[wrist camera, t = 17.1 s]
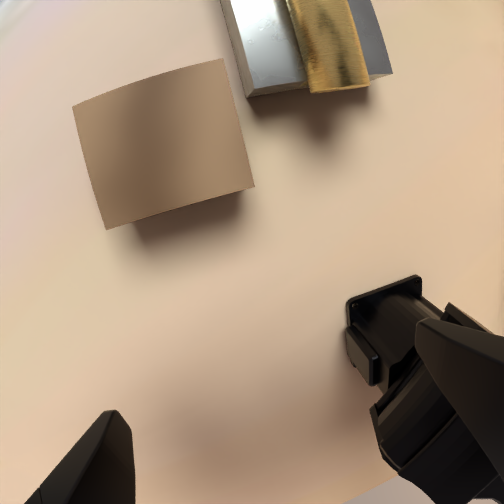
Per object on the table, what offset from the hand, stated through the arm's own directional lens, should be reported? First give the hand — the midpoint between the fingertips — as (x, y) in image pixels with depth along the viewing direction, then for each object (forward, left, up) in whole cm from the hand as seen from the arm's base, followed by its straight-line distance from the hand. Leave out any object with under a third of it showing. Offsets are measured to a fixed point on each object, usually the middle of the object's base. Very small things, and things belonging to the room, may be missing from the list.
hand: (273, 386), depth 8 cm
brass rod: (-7, -13, -9) cm, 18 cm away
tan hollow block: (+2, -7, -12) cm, 14 cm away
